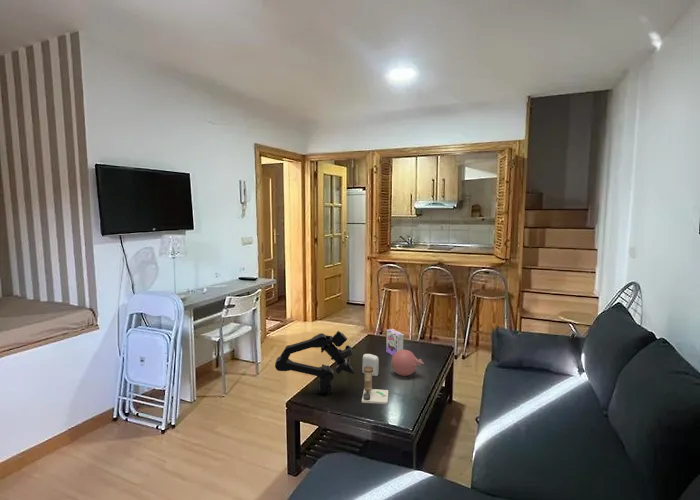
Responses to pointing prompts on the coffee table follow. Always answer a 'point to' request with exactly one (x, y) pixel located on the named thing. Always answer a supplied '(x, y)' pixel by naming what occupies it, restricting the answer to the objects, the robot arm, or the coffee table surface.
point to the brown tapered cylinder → (368, 381)
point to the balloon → (405, 362)
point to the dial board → (376, 396)
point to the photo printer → (371, 363)
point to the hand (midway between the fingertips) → (353, 373)
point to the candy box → (393, 341)
